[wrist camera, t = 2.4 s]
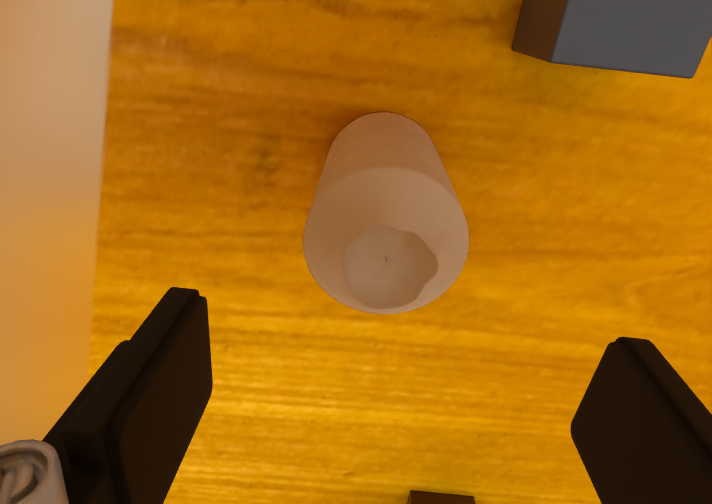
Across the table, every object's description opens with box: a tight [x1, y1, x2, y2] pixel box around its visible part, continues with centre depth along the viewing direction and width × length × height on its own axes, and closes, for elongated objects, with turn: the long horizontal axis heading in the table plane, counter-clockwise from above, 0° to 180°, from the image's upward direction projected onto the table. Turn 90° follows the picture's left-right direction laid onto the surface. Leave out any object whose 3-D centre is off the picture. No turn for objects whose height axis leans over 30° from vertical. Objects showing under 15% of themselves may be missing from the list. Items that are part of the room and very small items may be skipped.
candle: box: [303, 112, 469, 314], centre depth 18 cm, size 6×6×10 cm
